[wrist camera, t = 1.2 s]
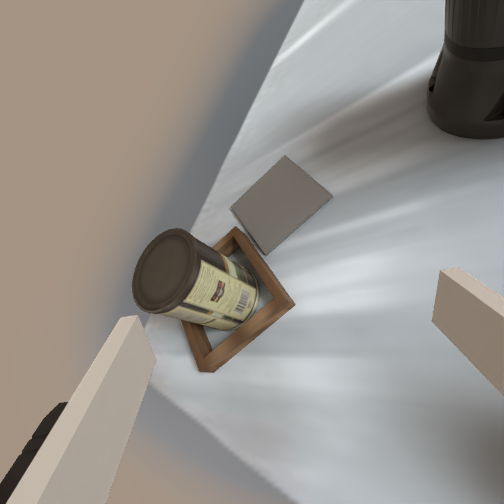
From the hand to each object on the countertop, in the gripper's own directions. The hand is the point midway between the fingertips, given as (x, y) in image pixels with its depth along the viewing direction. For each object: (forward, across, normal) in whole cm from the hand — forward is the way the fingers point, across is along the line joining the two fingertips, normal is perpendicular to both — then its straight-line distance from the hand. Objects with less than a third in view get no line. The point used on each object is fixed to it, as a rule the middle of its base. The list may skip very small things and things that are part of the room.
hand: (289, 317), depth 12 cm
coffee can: (+26, -6, -16) cm, 31 cm away
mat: (+34, +3, -5) cm, 35 cm away
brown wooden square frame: (+26, -6, -16) cm, 31 cm away
